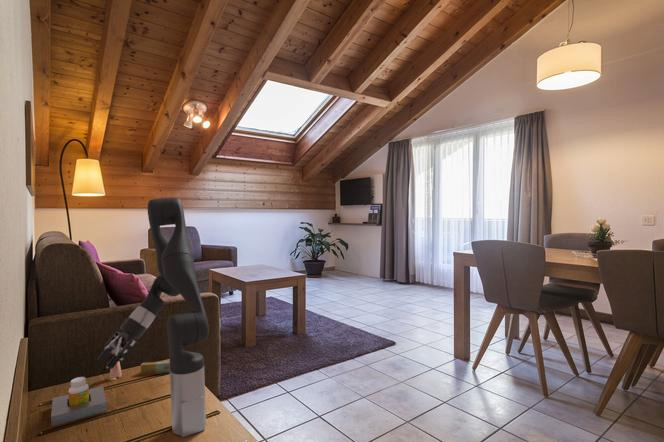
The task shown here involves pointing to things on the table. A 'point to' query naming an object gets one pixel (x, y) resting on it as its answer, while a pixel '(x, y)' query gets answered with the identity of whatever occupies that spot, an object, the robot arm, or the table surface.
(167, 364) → the medication box
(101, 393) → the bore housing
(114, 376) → the grandmother figurine
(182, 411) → the robot arm
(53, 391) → the table surface
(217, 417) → the table surface
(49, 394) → the table surface
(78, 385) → the supplement bottle
